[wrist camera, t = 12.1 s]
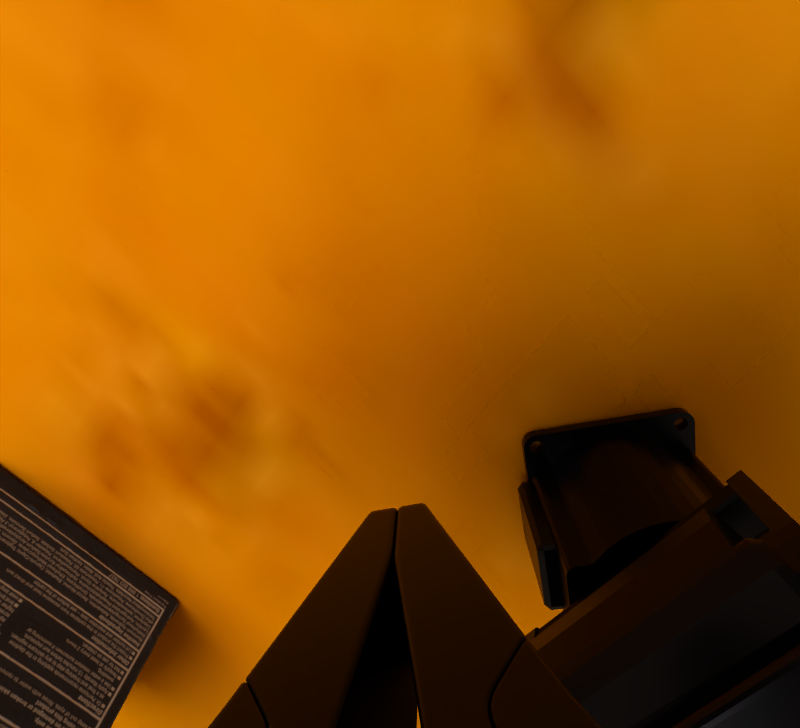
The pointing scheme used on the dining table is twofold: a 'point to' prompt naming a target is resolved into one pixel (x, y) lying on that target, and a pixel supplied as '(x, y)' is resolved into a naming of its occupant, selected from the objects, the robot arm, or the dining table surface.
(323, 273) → the dining table surface
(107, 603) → the small box
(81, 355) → the dining table surface
